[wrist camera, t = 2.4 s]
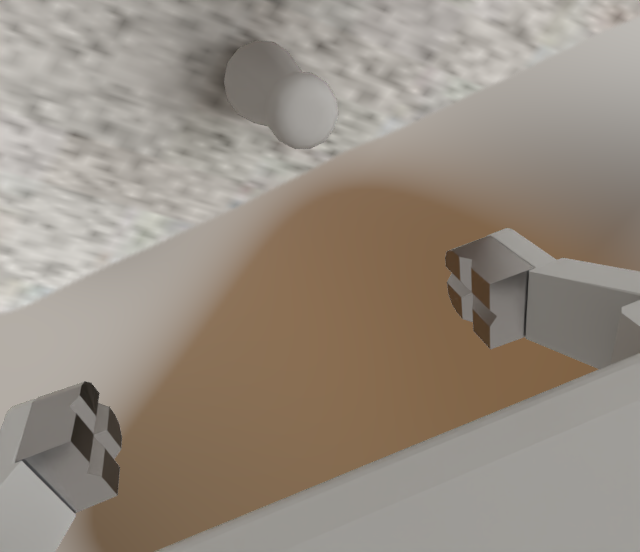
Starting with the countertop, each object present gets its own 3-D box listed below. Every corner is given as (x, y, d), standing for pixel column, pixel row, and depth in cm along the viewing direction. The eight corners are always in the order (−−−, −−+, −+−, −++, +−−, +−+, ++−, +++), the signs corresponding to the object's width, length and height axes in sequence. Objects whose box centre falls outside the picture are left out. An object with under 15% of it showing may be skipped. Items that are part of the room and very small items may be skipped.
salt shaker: (259, 130, 39) (309, 184, 29) (203, 82, 36) (237, 125, 26) (304, 73, 38) (373, 109, 28) (251, 19, 35) (307, 37, 25)
